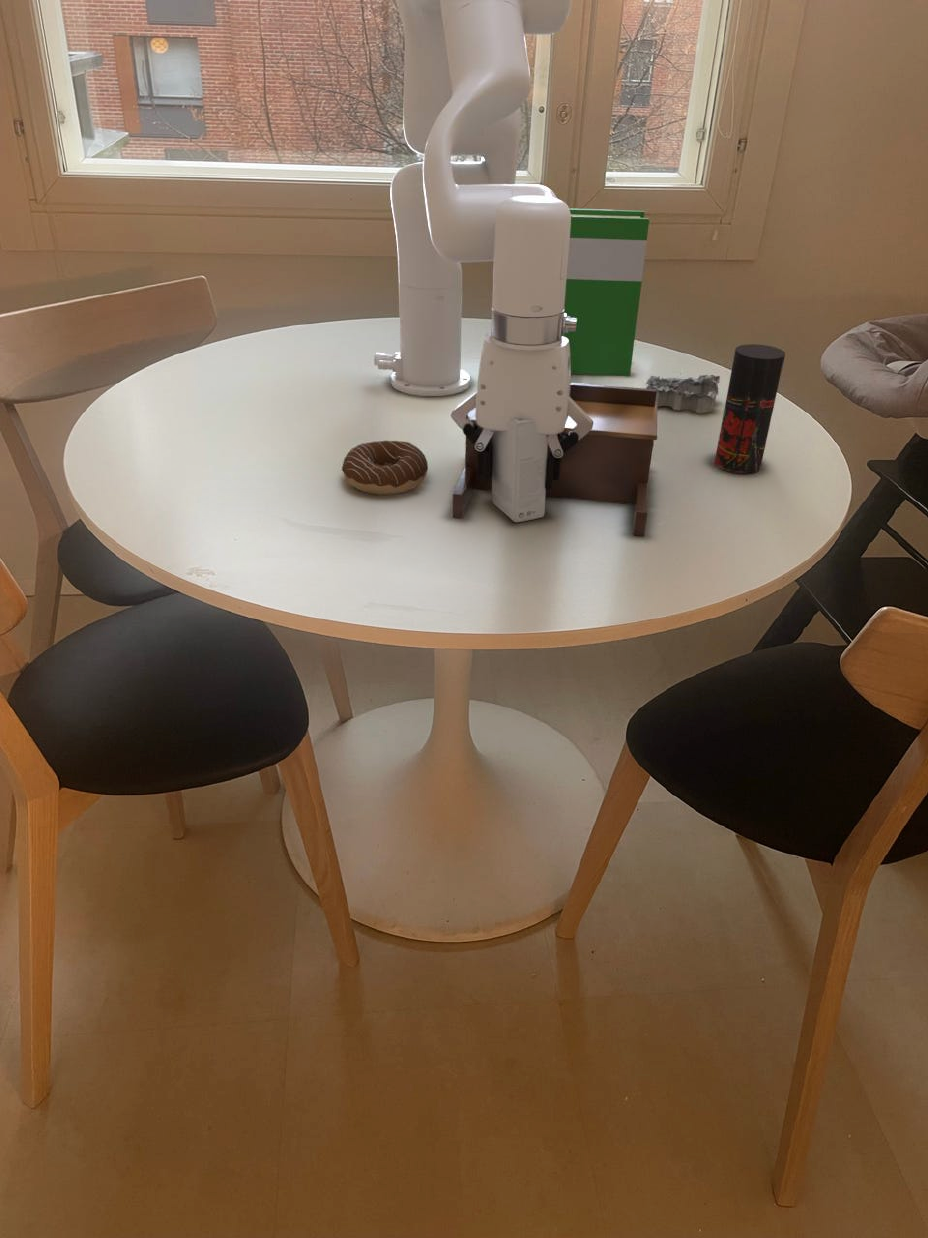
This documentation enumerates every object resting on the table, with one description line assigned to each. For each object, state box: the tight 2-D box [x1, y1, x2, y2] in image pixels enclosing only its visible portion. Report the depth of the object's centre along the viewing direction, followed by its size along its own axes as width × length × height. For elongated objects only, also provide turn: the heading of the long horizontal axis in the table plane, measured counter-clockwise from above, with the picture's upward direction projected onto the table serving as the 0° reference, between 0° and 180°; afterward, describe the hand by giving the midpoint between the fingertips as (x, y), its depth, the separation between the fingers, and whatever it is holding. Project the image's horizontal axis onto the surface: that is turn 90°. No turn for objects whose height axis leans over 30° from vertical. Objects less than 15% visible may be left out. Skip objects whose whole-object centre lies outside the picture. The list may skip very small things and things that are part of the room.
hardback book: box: [562, 208, 650, 377], centre depth 145 cm, size 18×7×24 cm, turn 87°
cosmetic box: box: [491, 419, 548, 523], centre depth 103 cm, size 6×4×12 cm
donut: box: [341, 440, 429, 495], centre depth 111 cm, size 11×11×4 cm
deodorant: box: [714, 343, 786, 475], centre depth 115 cm, size 6×6×15 cm
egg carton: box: [645, 374, 721, 415], centre depth 137 cm, size 11×8×4 cm
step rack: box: [452, 382, 658, 537], centre depth 108 cm, size 23×18×11 cm
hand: (518, 481), depth 105 cm, fingers closed on cosmetic box, 6 cm apart
